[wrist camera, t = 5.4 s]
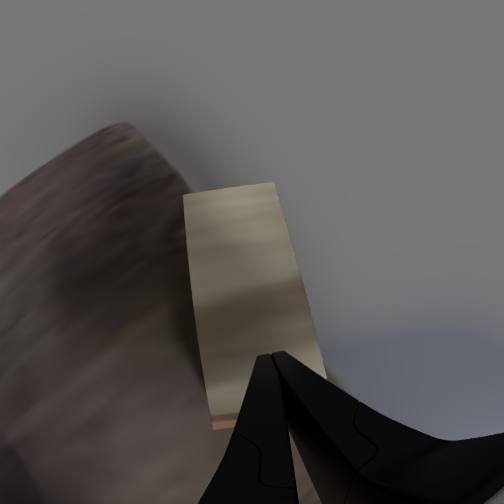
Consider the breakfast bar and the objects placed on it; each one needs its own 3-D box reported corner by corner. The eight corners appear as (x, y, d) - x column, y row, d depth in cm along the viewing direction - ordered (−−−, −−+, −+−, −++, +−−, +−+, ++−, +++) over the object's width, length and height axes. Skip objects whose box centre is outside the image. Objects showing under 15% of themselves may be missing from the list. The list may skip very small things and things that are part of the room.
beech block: (332, 405, 11) (273, 182, 16) (213, 429, 10) (182, 194, 16) (308, 403, 15) (267, 229, 21) (222, 420, 15) (195, 240, 20)
